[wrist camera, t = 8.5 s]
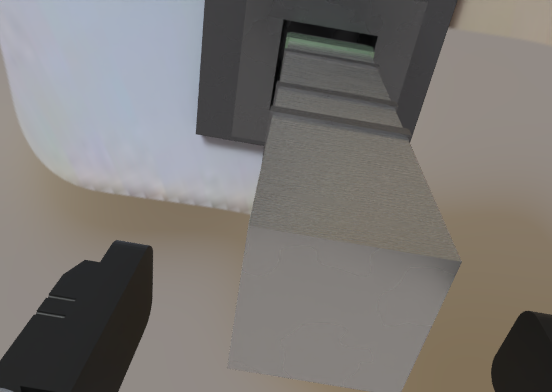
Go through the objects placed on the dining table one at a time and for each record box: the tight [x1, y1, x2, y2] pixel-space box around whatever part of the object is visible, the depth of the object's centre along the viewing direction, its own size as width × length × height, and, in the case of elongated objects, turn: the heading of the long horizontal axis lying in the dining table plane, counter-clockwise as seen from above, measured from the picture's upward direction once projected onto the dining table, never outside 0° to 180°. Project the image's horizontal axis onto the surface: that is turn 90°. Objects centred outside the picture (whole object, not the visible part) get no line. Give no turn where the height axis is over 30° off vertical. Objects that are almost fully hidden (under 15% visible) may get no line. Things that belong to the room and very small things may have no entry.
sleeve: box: [196, 0, 457, 146], centre depth 28 cm, size 16×16×8 cm
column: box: [227, 32, 462, 392], centre depth 17 cm, size 4×4×18 cm
